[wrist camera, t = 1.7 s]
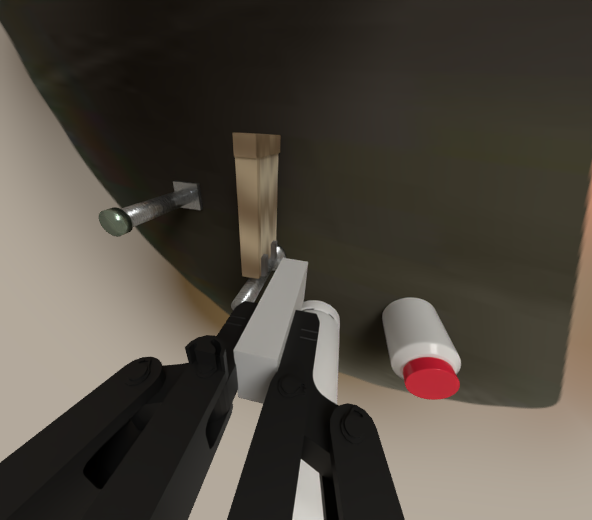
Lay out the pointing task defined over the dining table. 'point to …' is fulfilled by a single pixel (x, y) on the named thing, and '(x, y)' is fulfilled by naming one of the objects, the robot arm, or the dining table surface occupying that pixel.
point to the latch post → (151, 208)
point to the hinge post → (257, 281)
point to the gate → (257, 199)
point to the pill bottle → (421, 349)
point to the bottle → (326, 381)
